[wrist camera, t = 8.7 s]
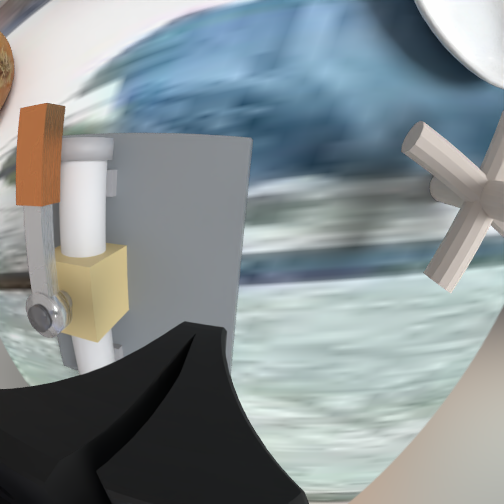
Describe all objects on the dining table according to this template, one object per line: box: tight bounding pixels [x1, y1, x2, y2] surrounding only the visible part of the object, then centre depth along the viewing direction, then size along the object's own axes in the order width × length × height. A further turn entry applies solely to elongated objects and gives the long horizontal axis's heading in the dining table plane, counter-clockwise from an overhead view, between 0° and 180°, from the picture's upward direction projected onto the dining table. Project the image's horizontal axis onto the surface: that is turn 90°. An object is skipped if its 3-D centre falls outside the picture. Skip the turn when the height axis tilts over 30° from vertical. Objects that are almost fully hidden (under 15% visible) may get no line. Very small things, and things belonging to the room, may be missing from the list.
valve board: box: [53, 133, 253, 376], centre depth 17 cm, size 18×14×6 cm
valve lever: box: [16, 103, 72, 338], centre depth 12 cm, size 11×2×2 cm, turn 175°
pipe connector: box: [401, 110, 504, 293], centre depth 12 cm, size 10×10×10 cm
